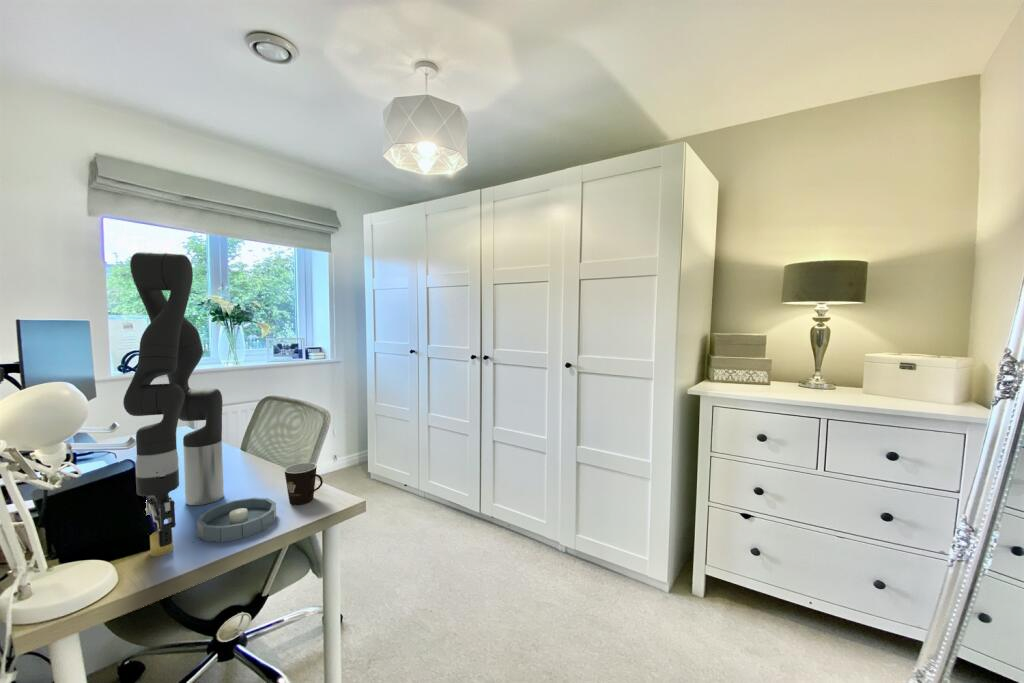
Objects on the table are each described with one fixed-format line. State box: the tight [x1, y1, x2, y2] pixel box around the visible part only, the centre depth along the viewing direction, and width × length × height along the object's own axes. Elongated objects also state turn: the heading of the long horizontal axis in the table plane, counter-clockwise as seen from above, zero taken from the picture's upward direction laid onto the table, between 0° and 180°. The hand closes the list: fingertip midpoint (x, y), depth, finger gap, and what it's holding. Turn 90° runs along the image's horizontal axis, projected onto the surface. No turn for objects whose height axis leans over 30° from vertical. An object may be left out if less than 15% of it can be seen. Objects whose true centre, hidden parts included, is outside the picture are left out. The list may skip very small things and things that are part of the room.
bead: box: [149, 531, 174, 558], centre depth 97 cm, size 4×4×5 cm
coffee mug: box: [283, 462, 324, 506], centre depth 124 cm, size 12×9×10 cm
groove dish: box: [196, 497, 277, 543], centre depth 110 cm, size 17×17×4 cm
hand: (160, 539), depth 97 cm, fingers open, 8 cm apart
